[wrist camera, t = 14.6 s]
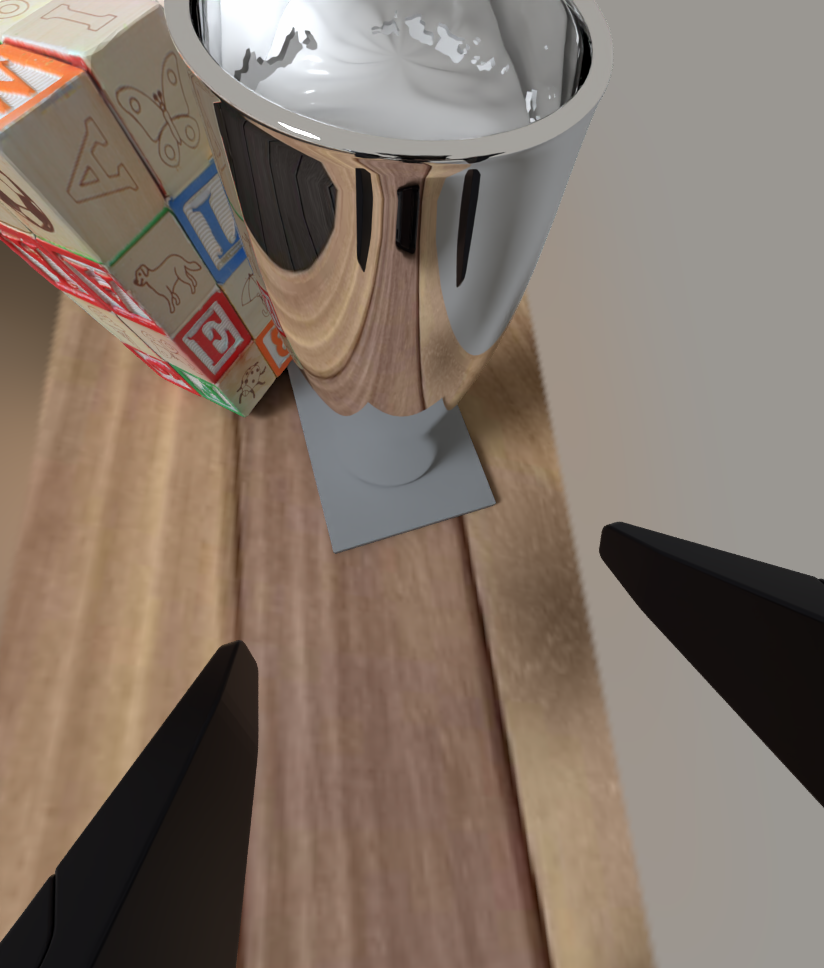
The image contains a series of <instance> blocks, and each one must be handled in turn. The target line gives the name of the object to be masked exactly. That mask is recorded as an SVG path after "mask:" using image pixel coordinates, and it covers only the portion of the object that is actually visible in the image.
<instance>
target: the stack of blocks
mask: <svg viewBox="0 0 824 968" xmlns="http://www.w3.org/2000/svg"><path fill="white" fill-rule="evenodd" d="M0 240H1V241H3V242H4V243H5V244H6V245H7V246H8V247H9V248H11V249H12V250H13V251H14V252H15V253H16V254H18V255H19V256H20V257H21V258H23V259H24V260H25V261H26V262H27V263H28V264H29V265H30V266H31V267H32V268H33V269H35V270H36V271H37V272H39V273H40V274H41V275H42V276H43V277H44V278H46V279H47V280H48V281H49V282H50V283H52V284H53V285H54V286H55V287H57V288H58V289H60V290H62V291H63V292H64V293H65V294H66V295H67V296H68V297H69V298H71V299H72V300H73V301H74V302H75V303H77V304H78V305H79V306H80V307H81V308H82V309H84V310H85V311H86V312H87V313H88V314H89V315H91V316H92V317H93V318H94V319H95V320H96V321H98V322H99V323H100V324H101V325H102V326H104V327H105V328H106V329H107V330H108V331H110V332H111V333H112V334H113V335H114V336H116V337H117V338H118V339H120V341H121V342H122V343H123V344H124V345H125V346H126V347H127V348H128V349H130V350H131V351H132V352H133V353H134V354H135V355H136V356H137V357H139V358H140V359H141V360H142V361H143V362H145V363H146V364H147V365H148V366H149V367H150V368H151V369H152V370H153V371H155V372H156V373H157V374H158V375H159V376H161V377H162V378H164V379H165V380H167V381H169V382H171V383H173V384H175V385H177V386H179V387H182V388H183V389H186V390H188V391H190V392H192V393H194V394H196V395H198V396H203V397H205V398H206V399H208V400H210V401H212V402H214V403H216V404H218V405H220V406H222V407H224V408H226V409H228V410H230V411H232V412H235V413H237V414H239V415H241V416H243V417H247V416H248V415H249V413H250V412H251V411H252V409H253V408H254V407H255V405H256V404H257V403H258V401H259V400H260V399H261V398H262V396H263V395H264V394H265V392H266V391H267V390H268V388H269V387H270V386H271V385H272V383H273V382H274V380H275V379H276V377H279V376H280V375H281V373H282V372H283V371H284V370H285V368H286V367H287V366H288V364H289V363H290V362H291V360H292V359H293V358H292V357H291V355H290V353H289V352H288V350H287V349H286V347H285V345H284V344H283V342H282V340H281V338H280V336H279V333H278V331H277V329H276V327H275V325H274V323H273V320H272V318H271V316H270V314H269V312H268V310H267V307H266V305H265V303H264V301H263V299H262V297H261V294H260V291H259V289H258V286H257V284H256V281H255V278H254V276H253V273H252V270H251V268H250V265H249V262H248V260H247V257H246V255H245V252H244V249H243V247H242V244H241V241H240V238H239V235H238V232H237V229H236V226H235V223H234V220H233V217H232V214H231V211H230V208H229V205H228V202H227V199H226V196H225V193H224V190H223V187H222V184H221V181H220V178H219V175H218V171H217V168H216V165H215V162H214V159H213V155H212V152H211V149H210V146H209V143H208V139H207V136H206V133H205V130H204V127H203V123H202V120H201V117H200V114H199V111H198V108H197V105H196V102H195V99H194V96H193V93H192V90H191V87H190V84H189V81H188V78H187V75H186V72H185V70H184V67H183V64H182V61H181V59H180V56H179V54H178V52H177V50H176V48H175V46H174V44H173V41H172V39H171V36H170V34H169V31H168V28H167V24H166V19H165V14H164V0H0Z"/></svg>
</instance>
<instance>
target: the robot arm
mask: <svg viewBox="0 0 824 968" xmlns="http://www.w3.org/2000/svg"><path fill="white" fill-rule="evenodd" d="M599 553H600V556H601V558H602V560H603V561H604V562H605V564H606V565H607V566H608V568H609V569H610V570H611V571H612V573H613V574H614V575H615V577H616V578H617V579H618V580H619V582H620V583H621V584H622V586H623V587H624V588H625V590H626V591H627V592H628V593H629V595H630V596H631V598H632V599H633V600H634V601H635V603H636V604H637V605H638V606H639V608H640V609H641V610H642V611H643V612H644V613H645V614H646V616H647V617H648V618H649V619H650V620H651V621H652V622H653V623H654V624H655V625H656V626H657V628H658V629H659V630H660V631H661V632H662V633H663V634H664V635H665V636H666V637H667V638H668V639H669V641H670V642H671V643H672V644H673V645H674V646H675V647H676V648H677V649H678V650H679V651H680V652H681V654H682V655H683V656H684V657H685V658H686V659H687V660H688V661H689V662H690V663H691V664H692V666H693V667H694V668H695V669H696V670H697V671H698V672H699V673H700V674H701V675H702V676H703V677H704V679H706V681H707V682H708V683H709V684H710V685H711V686H712V687H713V688H714V689H715V690H716V692H717V693H718V694H719V695H720V696H721V697H722V698H723V699H724V700H725V701H726V702H727V703H728V705H729V706H730V707H731V708H732V709H733V710H734V711H735V712H736V713H737V714H738V715H739V716H740V717H741V719H742V720H743V721H744V722H745V723H746V724H747V725H748V726H749V727H750V728H751V729H752V731H753V732H754V733H755V734H756V735H757V736H758V737H759V738H760V739H761V740H762V741H763V742H764V743H765V745H766V746H767V747H768V748H769V749H770V750H771V751H772V752H773V753H774V754H775V755H776V757H777V758H778V759H779V760H780V761H781V762H782V763H783V764H784V765H785V766H786V767H787V768H788V769H789V771H790V772H791V773H792V774H793V775H794V776H795V777H796V778H797V779H798V780H799V781H800V783H802V785H803V786H804V787H805V788H806V789H807V790H808V791H809V792H810V793H811V794H812V796H813V797H814V798H815V799H816V800H817V801H818V802H819V803H820V804H821V805H822V806H823V807H824V579H817V578H815V577H813V576H810V575H806V574H803V573H799V572H795V571H792V570H789V569H785V568H782V567H778V566H775V565H771V564H767V563H764V562H761V561H757V560H753V559H750V558H747V557H743V556H739V555H736V554H732V553H729V552H725V551H722V550H718V549H715V548H711V547H708V546H704V545H701V544H697V543H694V542H690V541H687V540H683V539H679V538H676V537H673V536H669V535H666V534H662V533H659V532H655V531H651V530H648V529H645V528H641V527H637V526H634V525H631V524H627V523H623V522H615V523H612V524H609V525H606V526H604V528H603V530H602V534H601V541H600V547H599ZM257 756H258V667H257V663H256V661H255V659H254V658H253V656H252V654H251V653H250V651H249V649H248V648H247V646H246V644H245V643H244V642H243V641H241V640H237V641H234V642H231V643H228V644H224V645H222V646H221V647H220V648H219V649H218V650H217V651H216V653H215V654H214V655H213V657H212V658H211V659H210V661H209V662H208V663H207V665H206V666H205V667H204V669H203V670H202V671H201V673H200V674H199V676H198V677H197V678H196V680H195V681H194V682H193V684H192V685H191V686H190V688H189V689H188V690H187V692H186V693H185V694H184V696H183V697H182V699H181V700H180V701H179V703H178V704H177V705H176V707H175V708H174V709H173V711H172V712H171V713H170V715H169V716H168V717H167V719H166V720H165V722H164V723H163V724H162V726H161V727H160V728H159V730H158V731H157V732H156V734H155V735H154V736H153V738H152V739H151V740H150V742H149V743H148V745H147V746H146V747H145V749H144V750H143V751H142V753H141V754H140V755H139V757H138V758H137V759H136V761H135V762H134V763H133V765H132V766H131V768H130V769H129V770H128V772H127V773H126V774H125V776H124V777H123V778H122V780H121V781H120V782H119V784H118V785H117V786H116V788H115V789H114V791H113V792H112V793H111V795H110V796H109V797H108V799H107V800H106V801H105V803H104V804H103V805H102V807H101V808H100V809H99V811H98V812H97V814H96V815H95V816H94V818H93V819H92V820H91V822H90V823H89V824H88V826H87V827H86V828H85V830H84V831H83V832H82V834H81V835H80V837H79V838H78V839H77V841H76V842H75V843H74V845H73V846H72V847H71V849H70V850H69V851H68V853H67V854H66V855H65V857H64V858H63V860H62V861H61V862H60V864H59V865H58V866H57V868H56V871H55V874H53V875H51V876H50V877H49V878H48V880H47V881H46V882H45V884H44V885H43V886H42V888H41V889H40V890H39V892H38V893H37V894H36V896H35V897H34V898H33V900H32V901H31V903H30V904H29V905H28V907H27V908H26V909H25V911H24V912H23V913H22V915H21V916H20V917H19V919H18V920H17V921H16V923H15V924H14V925H13V927H12V928H11V929H10V931H9V932H8V933H7V934H6V936H5V937H4V938H3V940H2V941H1V942H0V968H236V961H237V952H238V942H239V932H240V923H241V913H242V903H243V894H244V884H245V874H246V864H247V855H248V845H249V835H250V826H251V816H252V806H253V796H254V787H255V777H256V767H257Z"/></svg>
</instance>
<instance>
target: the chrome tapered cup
mask: <svg viewBox="0 0 824 968" xmlns="http://www.w3.org/2000/svg"><path fill="white" fill-rule="evenodd" d="M164 14H165V19H166V24H167V28H168V31H169V34H170V36H171V39H172V41H173V44H174V46H175V48H176V50H177V52H178V54H179V56H180V59H181V61H182V64H183V67H184V70H185V72H186V75H187V78H188V81H189V84H190V87H191V90H192V93H193V96H194V99H195V102H196V105H197V108H198V111H199V114H200V117H201V120H202V123H203V127H204V130H205V133H206V136H207V139H208V143H209V146H210V149H211V152H212V155H213V159H214V162H215V165H216V168H217V171H218V175H219V178H220V181H221V184H222V187H223V190H224V193H225V196H226V199H227V202H228V205H229V208H230V211H231V214H232V217H233V220H234V223H235V226H236V229H237V232H238V235H239V238H240V241H241V244H242V247H243V249H244V252H245V255H246V257H247V260H248V262H249V265H250V268H251V270H252V273H253V276H254V278H255V281H256V284H257V286H258V289H259V291H260V294H261V297H262V299H263V301H264V303H265V305H266V307H267V310H268V312H269V314H270V316H271V318H272V320H273V323H274V325H275V327H276V329H277V331H278V333H279V336H280V338H281V340H282V342H283V344H284V345H285V347H286V349H287V350H288V352H289V353H290V355H291V357H292V358H293V360H294V362H295V363H296V365H297V367H298V368H299V370H300V371H301V373H302V375H303V376H304V378H305V379H306V381H307V382H308V383H309V385H310V386H311V387H312V389H313V390H314V392H315V393H316V394H317V396H318V397H319V399H320V400H321V401H322V403H323V404H324V405H325V407H326V408H327V409H328V411H329V412H330V413H331V415H332V417H333V429H332V437H333V444H334V448H335V451H336V454H337V456H338V458H339V460H340V461H341V463H342V464H343V466H344V467H345V468H346V469H347V470H348V471H349V472H350V473H351V474H353V475H354V476H355V477H357V478H359V479H360V480H362V481H364V482H367V483H369V484H373V485H377V486H385V487H391V486H399V485H403V484H407V483H409V482H412V481H414V480H416V479H417V478H419V477H420V476H422V475H423V474H424V473H426V472H427V471H428V470H429V469H430V468H431V466H432V465H433V464H434V462H435V461H436V459H437V457H438V454H439V452H440V448H441V444H442V422H443V421H444V419H445V418H446V417H447V415H448V414H449V413H450V412H451V411H452V410H453V408H454V407H455V406H456V405H457V404H458V402H459V401H460V400H461V399H462V397H463V396H464V395H465V394H466V392H467V391H468V390H469V389H470V387H471V386H472V385H473V384H474V382H475V381H476V379H477V378H478V376H479V375H480V373H481V372H482V370H483V369H484V368H485V366H486V365H487V363H488V362H489V360H490V359H491V357H492V356H493V354H494V353H495V351H496V349H497V347H498V345H499V343H500V341H501V339H502V337H503V336H504V334H505V332H506V330H507V328H508V326H509V324H510V322H511V320H512V318H513V316H514V315H515V312H516V310H517V308H518V306H519V303H520V301H521V299H522V297H523V294H524V292H525V290H526V287H527V285H528V283H529V280H530V278H531V276H532V274H533V271H534V269H535V267H536V264H537V262H538V259H539V257H540V254H541V251H542V249H543V246H544V244H545V241H546V239H547V236H548V233H549V231H550V228H551V225H552V223H553V220H554V218H555V215H556V213H557V210H558V207H559V205H560V202H561V199H562V196H563V194H564V191H565V188H566V185H567V183H568V180H569V177H570V175H571V172H572V169H573V166H574V164H575V161H576V158H577V156H578V153H579V150H580V148H581V145H582V143H583V140H584V138H585V135H586V132H587V130H588V127H589V125H590V122H591V120H592V117H593V115H594V113H595V110H596V108H597V105H598V103H599V102H600V100H601V98H602V97H603V94H604V93H605V91H606V88H607V86H608V83H609V80H610V77H611V73H612V68H613V56H614V53H613V52H614V51H613V42H612V36H611V32H610V29H609V26H608V24H607V21H606V19H605V17H604V15H603V13H602V11H601V10H600V8H599V6H598V5H597V3H596V2H595V0H164Z"/></svg>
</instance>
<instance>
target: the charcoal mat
mask: <svg viewBox="0 0 824 968" xmlns="http://www.w3.org/2000/svg"><path fill="white" fill-rule="evenodd" d="M287 368H288V372H289V376H290V380H291V384H292V388H293V392H294V396H295V400H296V404H297V408H298V412H299V416H300V420H301V424H302V428H303V432H304V436H305V440H306V444H307V448H308V452H309V456H310V460H311V464H312V468H313V472H314V476H315V480H316V484H317V488H318V492H319V496H320V500H321V504H322V508H323V512H324V516H325V520H326V524H327V528H328V532H329V536H330V540H331V544H332V548H333V552H334V553H335V554H336V553H340V552H343V551H346V550H349V549H353V548H356V547H359V546H362V545H366V544H369V543H372V542H376V541H379V540H382V539H385V538H389V537H392V536H395V535H399V534H402V533H405V532H408V531H412V530H415V529H418V528H421V527H425V526H428V525H431V524H435V523H438V522H441V521H444V520H448V519H451V518H454V517H458V516H461V515H464V514H467V513H471V512H474V511H477V510H481V509H484V508H487V507H490V506H493V505H494V504H496V502H495V499H494V497H493V494H492V492H491V489H490V486H489V484H488V481H487V479H486V476H485V474H484V471H483V468H482V466H481V463H480V461H479V458H478V456H477V453H476V451H475V448H474V445H473V443H472V440H471V438H470V435H469V433H468V430H467V428H466V425H465V422H464V420H463V417H462V415H461V412H460V410H459V407H458V405H456V406H455V407H454V408H453V410H452V411H451V412H450V413H449V414H448V415H447V417H446V418H445V419H444V421H443V422H442V444H441V448H440V452H439V454H438V457H437V459H436V461H435V462H434V464H433V465H432V466H431V468H430V469H429V470H428V471H427V472H426V473H424V474H423V475H422V476H420V477H419V478H417V479H416V480H414V481H412V482H409V483H407V484H403V485H399V486H391V487H385V486H377V485H373V484H369V483H367V482H364V481H362V480H360V479H359V478H357V477H355V476H354V475H353V474H351V473H350V472H349V471H348V470H347V469H346V468H345V467H344V466H343V464H342V463H341V461H340V460H339V458H338V456H337V454H336V451H335V448H334V444H333V437H332V429H333V417H332V415H331V413H330V412H329V411H328V409H327V408H326V407H325V405H324V404H323V403H322V401H321V400H320V399H319V397H318V396H317V394H316V393H315V392H314V390H313V389H312V387H311V386H310V385H309V383H308V382H307V381H306V379H305V378H304V376H303V375H302V373H301V371H300V370H299V368H298V367H297V365H296V363H295V362H294V360H293V359H292V360H291V362H290V363H289V364H288V366H287Z"/></svg>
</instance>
